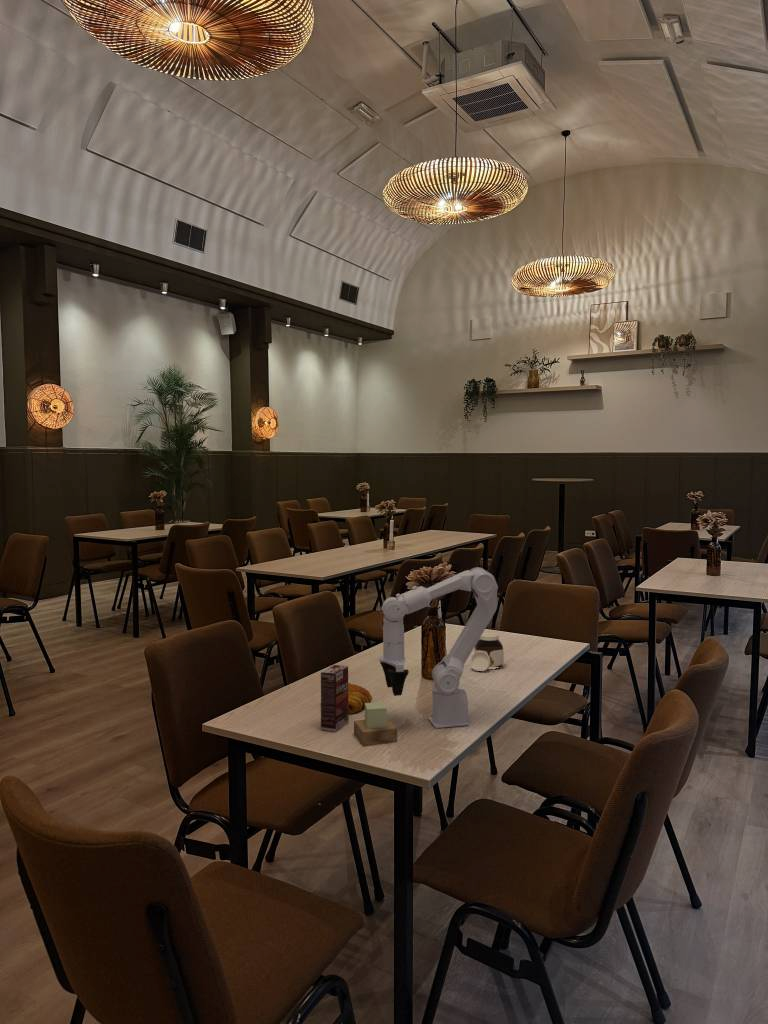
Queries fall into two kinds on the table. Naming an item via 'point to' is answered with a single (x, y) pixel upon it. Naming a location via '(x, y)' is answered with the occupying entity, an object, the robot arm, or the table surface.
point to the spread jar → (487, 652)
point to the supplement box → (334, 698)
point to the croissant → (357, 698)
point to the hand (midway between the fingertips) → (394, 690)
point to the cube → (375, 715)
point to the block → (375, 733)
